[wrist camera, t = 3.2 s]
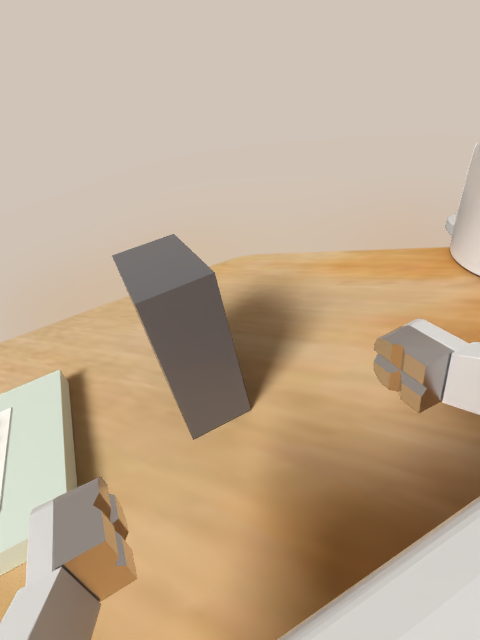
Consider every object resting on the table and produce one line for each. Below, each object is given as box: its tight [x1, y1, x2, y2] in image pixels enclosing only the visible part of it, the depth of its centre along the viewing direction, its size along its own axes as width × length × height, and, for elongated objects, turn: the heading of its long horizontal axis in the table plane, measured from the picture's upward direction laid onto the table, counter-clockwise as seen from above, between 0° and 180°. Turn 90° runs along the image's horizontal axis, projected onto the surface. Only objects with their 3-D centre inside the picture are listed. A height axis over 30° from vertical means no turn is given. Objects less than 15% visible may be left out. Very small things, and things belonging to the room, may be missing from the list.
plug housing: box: [113, 234, 251, 440], centre depth 22 cm, size 4×7×10 cm, turn 26°
